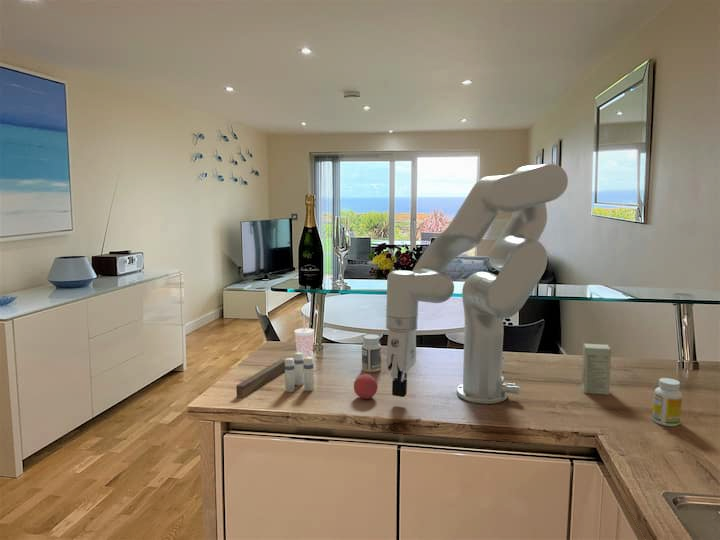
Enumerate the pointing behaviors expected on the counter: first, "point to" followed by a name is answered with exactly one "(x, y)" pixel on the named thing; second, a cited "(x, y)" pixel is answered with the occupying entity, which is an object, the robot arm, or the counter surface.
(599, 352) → the skincare box
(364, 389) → the ball
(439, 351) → the counter surface
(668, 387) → the supplement bottle
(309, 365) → the pin front
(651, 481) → the counter surface
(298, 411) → the counter surface
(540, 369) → the counter surface
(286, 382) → the pin rear left
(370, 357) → the pill bottle
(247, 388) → the back rail
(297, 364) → the pin rear right
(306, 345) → the beverage cup
